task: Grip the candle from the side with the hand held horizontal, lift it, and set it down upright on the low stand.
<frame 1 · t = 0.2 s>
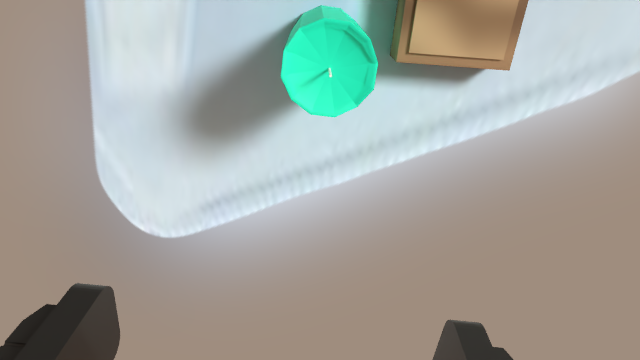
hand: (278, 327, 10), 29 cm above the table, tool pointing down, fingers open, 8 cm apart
stand: (454, 1, 33), on the table
candle: (325, 43, 35), on the table
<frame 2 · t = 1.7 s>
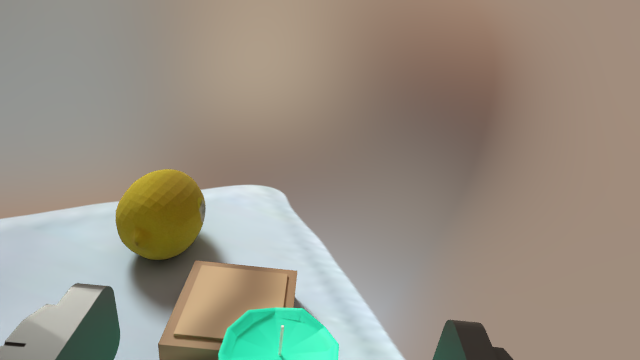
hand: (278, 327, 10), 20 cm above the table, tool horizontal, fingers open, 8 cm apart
lemon: (167, 246, 43), on the table
stand: (235, 329, 34), on the table
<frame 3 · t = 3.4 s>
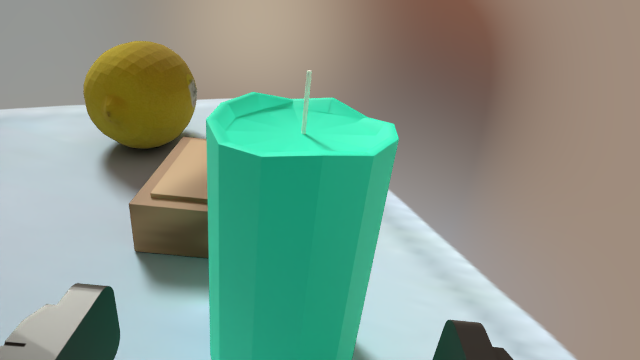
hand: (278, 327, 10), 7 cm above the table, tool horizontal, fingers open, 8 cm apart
lemon: (150, 142, 35), on the table
stand: (234, 214, 27), on the table
candle: (282, 352, 18), on the table
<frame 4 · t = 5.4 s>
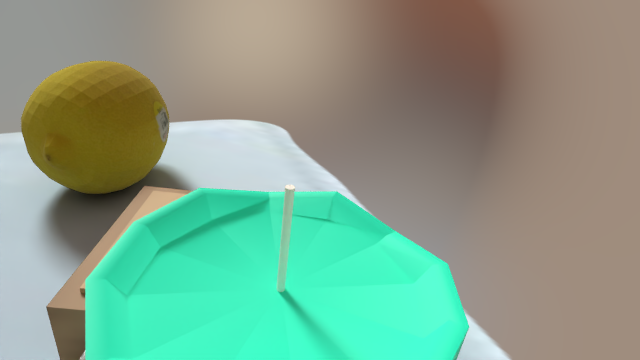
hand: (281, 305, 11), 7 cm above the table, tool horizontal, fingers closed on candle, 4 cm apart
lemon: (113, 181, 29), on the table
stand: (206, 292, 20), on the table
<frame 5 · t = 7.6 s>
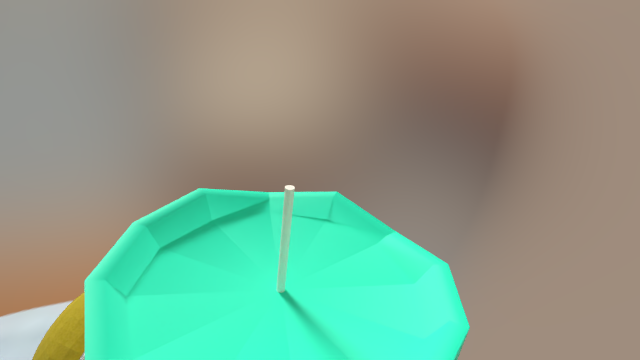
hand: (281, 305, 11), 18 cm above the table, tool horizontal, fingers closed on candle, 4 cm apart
when the fingers open (11 cm above the table, at t = 9.8 s): candle stays where it is, resting on stand.
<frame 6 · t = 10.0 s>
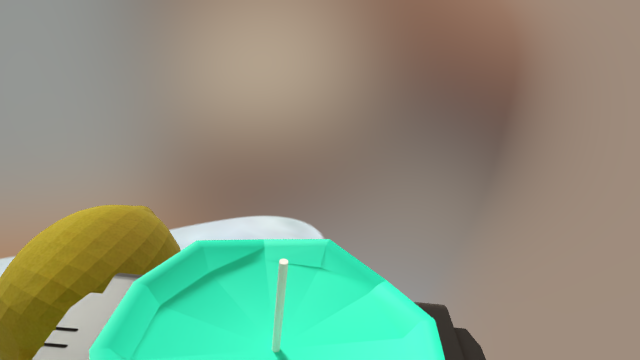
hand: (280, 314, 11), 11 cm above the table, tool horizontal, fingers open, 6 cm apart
lemon: (113, 349, 23), on the table
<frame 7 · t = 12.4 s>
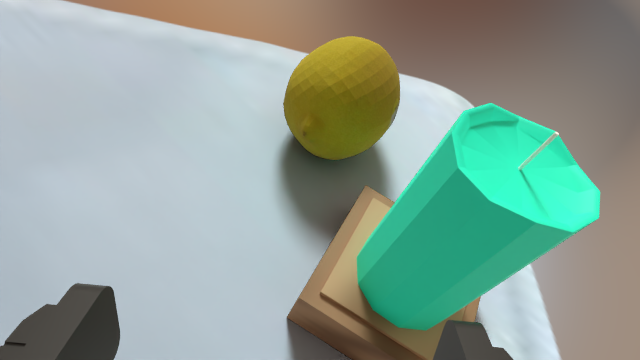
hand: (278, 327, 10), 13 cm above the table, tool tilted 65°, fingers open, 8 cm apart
lemon: (328, 135, 33), on the table
stand: (383, 296, 26), on the table
candle: (404, 278, 24), point 3 cm above the table, touching stand
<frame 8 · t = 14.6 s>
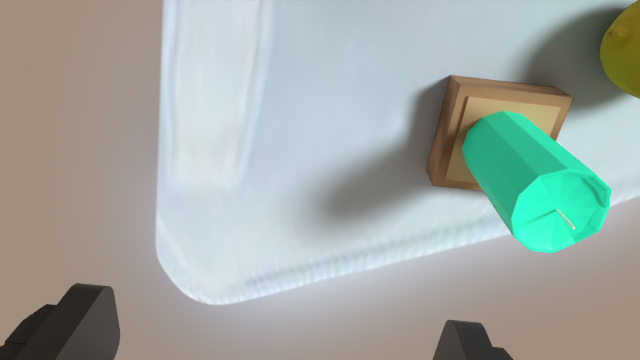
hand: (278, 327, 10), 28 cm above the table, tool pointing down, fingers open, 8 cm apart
stand: (487, 130, 37), on the table
candle: (497, 144, 35), point 3 cm above the table, touching stand
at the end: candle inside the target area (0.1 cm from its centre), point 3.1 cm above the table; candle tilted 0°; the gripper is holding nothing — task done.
